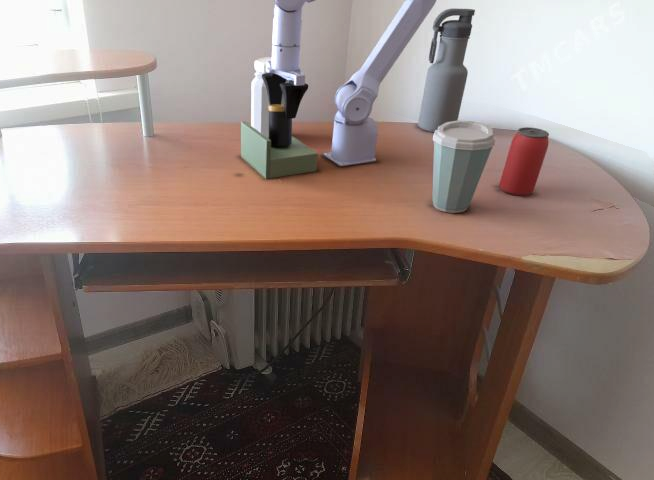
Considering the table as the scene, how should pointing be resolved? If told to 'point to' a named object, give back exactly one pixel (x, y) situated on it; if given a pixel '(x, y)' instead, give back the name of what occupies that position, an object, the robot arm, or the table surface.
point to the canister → (279, 126)
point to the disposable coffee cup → (459, 163)
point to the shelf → (275, 154)
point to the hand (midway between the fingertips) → (282, 113)
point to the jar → (260, 98)
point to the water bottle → (446, 70)
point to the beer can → (524, 161)
